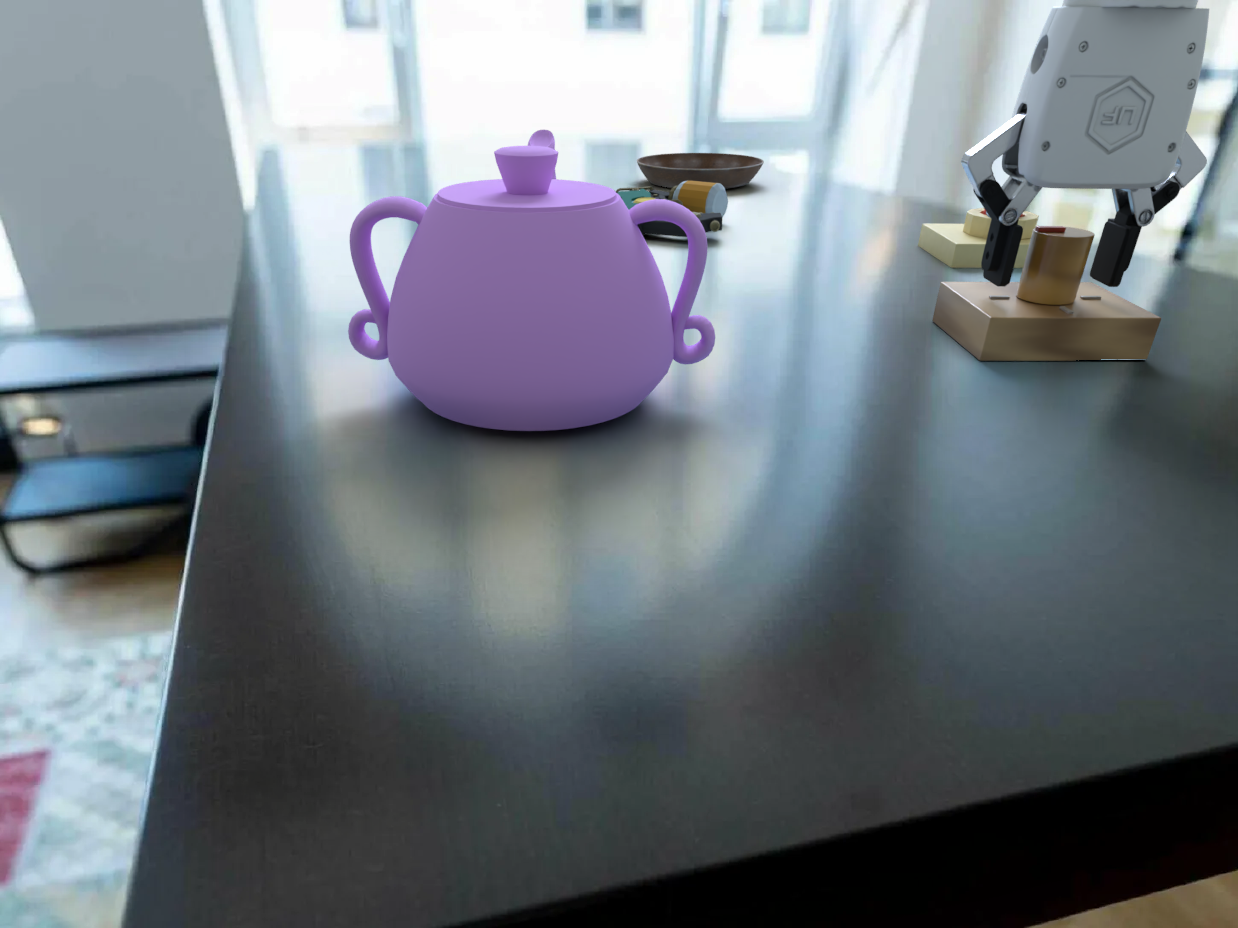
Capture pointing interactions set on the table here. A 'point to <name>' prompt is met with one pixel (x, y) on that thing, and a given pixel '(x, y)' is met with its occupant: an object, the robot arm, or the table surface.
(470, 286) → the purple sugar bowl
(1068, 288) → the dial knob
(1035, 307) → the panel
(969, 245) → the button box
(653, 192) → the spray gun
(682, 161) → the plant saucer
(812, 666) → the table surface
